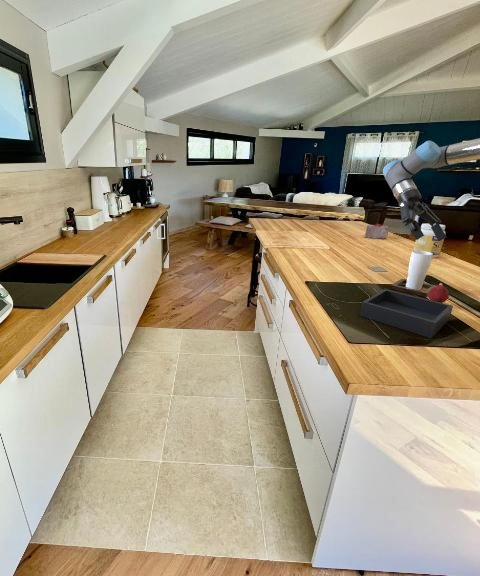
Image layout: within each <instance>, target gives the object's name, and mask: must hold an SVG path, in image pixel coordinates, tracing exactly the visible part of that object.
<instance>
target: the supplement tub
mask: <svg viewBox="0 0 480 576" xmlns="http://www.w3.org/2000/svg"><path fill="white" fill-rule="evenodd" d="M439 225H440V226H441V228H442V230H443V232H444V233H445V234H446V231H445V229H446V225H445V224H441V223H440V224H439ZM431 227H432V226H431V225H430V224H429V223H422V224H421V226H420V229H421V231H422V232H423V234H424V236H423V237H421V238H419V239H418V240H416V239H415V242H414V246H413V250H412V251H426V252H430V253H432V254H433V255H432V259H435V258H438V257H440V255H441V252H442V248H443V244H444V240H445V239H443V240H441V241H438V239H437V237H436V236H435V234H434V232H433V230H432V229H431Z"/></svg>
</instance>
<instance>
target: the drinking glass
mask: <svg viewBox="0 0 480 576" xmlns="http://www.w3.org/2000/svg"><path fill="white" fill-rule="evenodd" d="M432 255H433V254H432V253H430V252H426V251H413V250H412V251H411V254H410V258H409V261H408V262H409V263H408V268H407V269H408V271H407V276H406V279H407V282H406V283H405V287H407V288H411V289H415V290H420V291H422V288H423V287H422V285H423V283H425V279H426V277H427V274H428V271H429V269H430V267H431V264H432V260H433V258H432Z"/></svg>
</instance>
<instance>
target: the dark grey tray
mask: <svg viewBox="0 0 480 576" xmlns="http://www.w3.org/2000/svg"><path fill="white" fill-rule="evenodd" d="M453 308H454V305H452V304H448V303H445V302H443V303H440V302H436V301H432V300H430V299H429V298H428V299H427V298H425V297H421V296H417V295H412V294H411V295H410V294H407V293H404V292H399V291H396V290H392V289H386V288H384V289H383V290H380V291H379V292H377V293H376V294H374V295H372V296H370V297H368V298H367V299H365V300H363V301H362V303H361V307H360V314H359V316H360V317H362V318H367V319H370V320H373V321H376V322H379V323H380V324H381V323H382V324H385V325H387V326H391V327H394V328H397V329H399V330H400V329H401V330H404V331H407V332H410V333H413V334H416V335H420V336H422V337H426V338H429V339H432V338H433V337H435V335H436V334H438V333H439V332H440V331H441V329H442V328H443V327H444V326H445V325H446V324H447V323H448V322H449V321H450V318H451V315H452V311H453Z"/></svg>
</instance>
